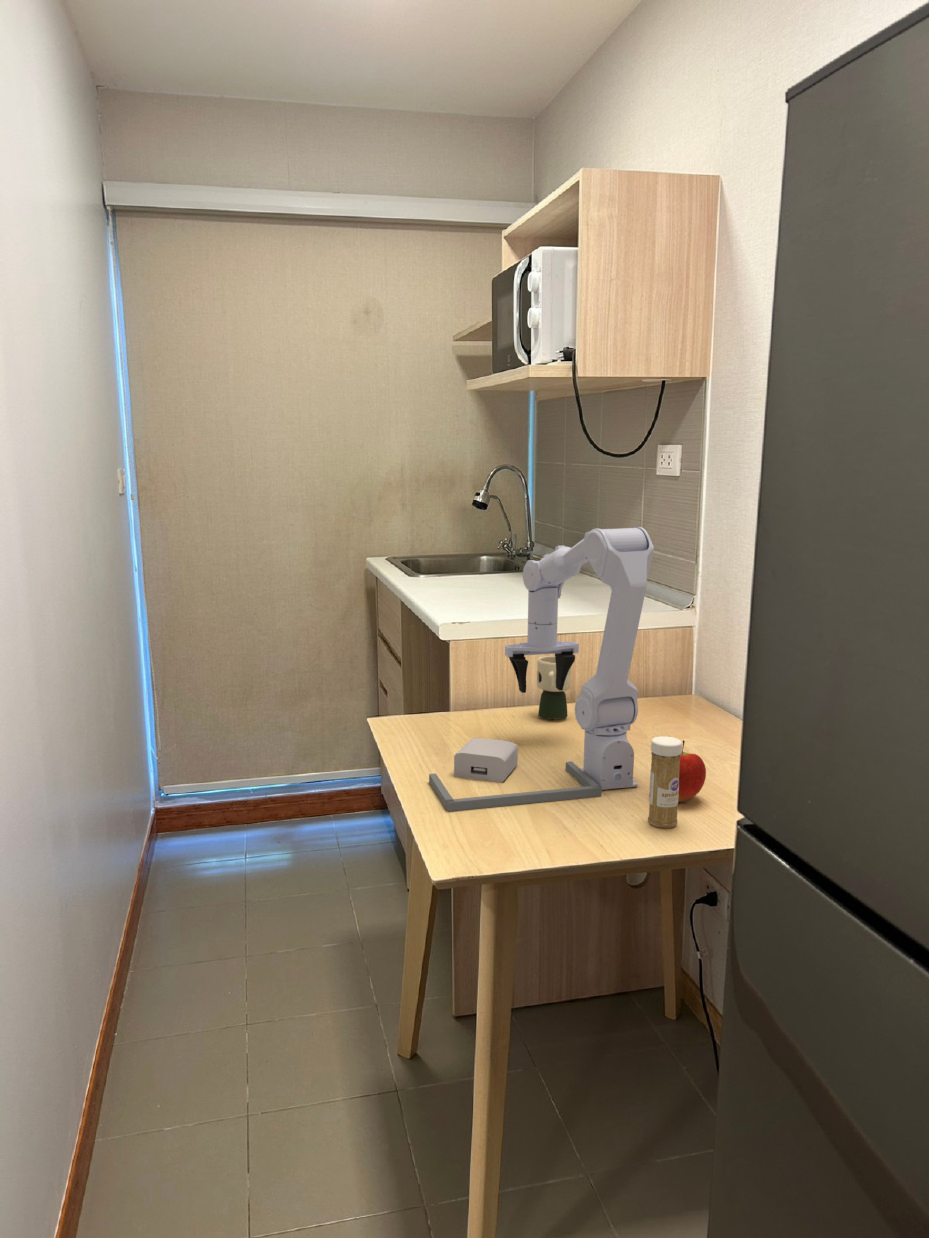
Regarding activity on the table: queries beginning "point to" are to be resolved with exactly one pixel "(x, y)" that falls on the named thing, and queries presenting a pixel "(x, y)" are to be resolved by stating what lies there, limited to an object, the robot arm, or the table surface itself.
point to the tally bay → (586, 791)
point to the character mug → (551, 689)
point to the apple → (690, 775)
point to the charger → (486, 759)
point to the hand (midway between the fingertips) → (541, 690)
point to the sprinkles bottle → (664, 781)
